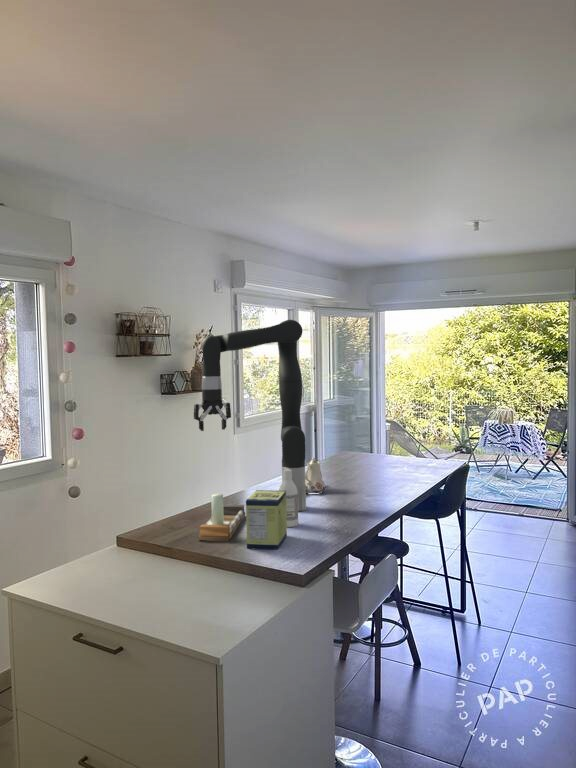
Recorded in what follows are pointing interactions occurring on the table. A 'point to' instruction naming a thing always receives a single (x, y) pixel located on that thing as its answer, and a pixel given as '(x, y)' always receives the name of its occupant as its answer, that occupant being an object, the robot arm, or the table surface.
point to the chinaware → (314, 477)
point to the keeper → (217, 510)
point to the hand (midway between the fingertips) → (212, 430)
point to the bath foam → (290, 498)
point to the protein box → (266, 519)
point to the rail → (223, 538)
